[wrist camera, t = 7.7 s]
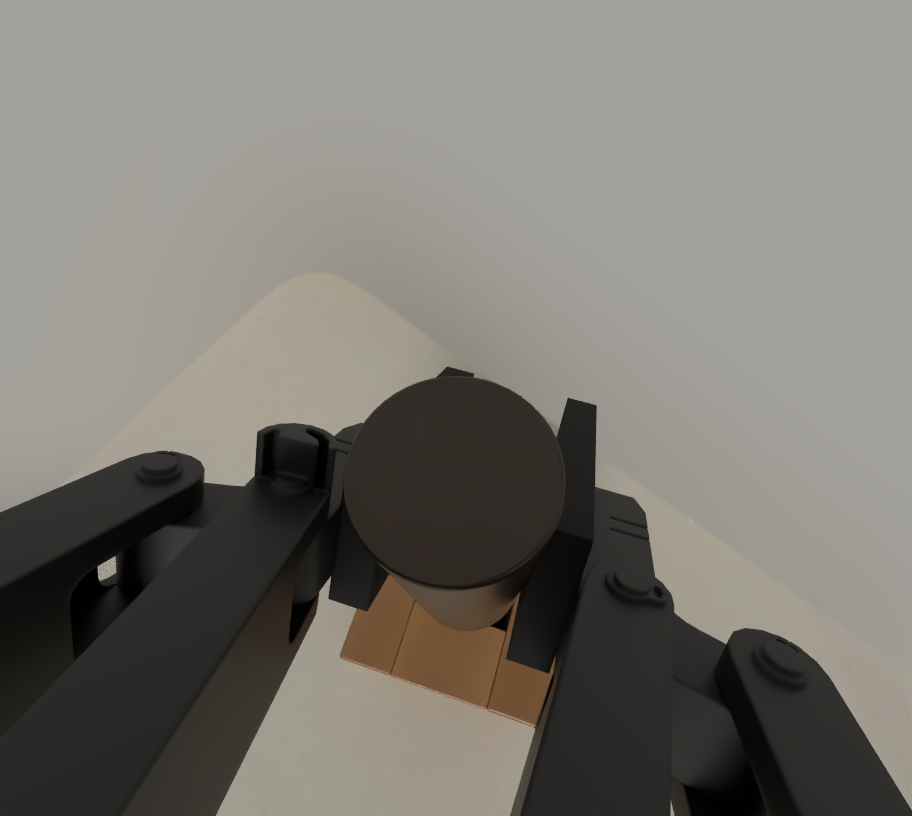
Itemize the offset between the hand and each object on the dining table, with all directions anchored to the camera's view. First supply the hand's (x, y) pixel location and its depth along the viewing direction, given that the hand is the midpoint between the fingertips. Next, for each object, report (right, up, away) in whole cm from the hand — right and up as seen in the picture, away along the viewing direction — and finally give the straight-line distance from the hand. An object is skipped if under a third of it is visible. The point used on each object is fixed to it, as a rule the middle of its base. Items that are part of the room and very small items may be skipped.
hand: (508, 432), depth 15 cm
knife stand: (-1, -8, +8) cm, 11 cm away
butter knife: (-1, -7, +6) cm, 9 cm away
